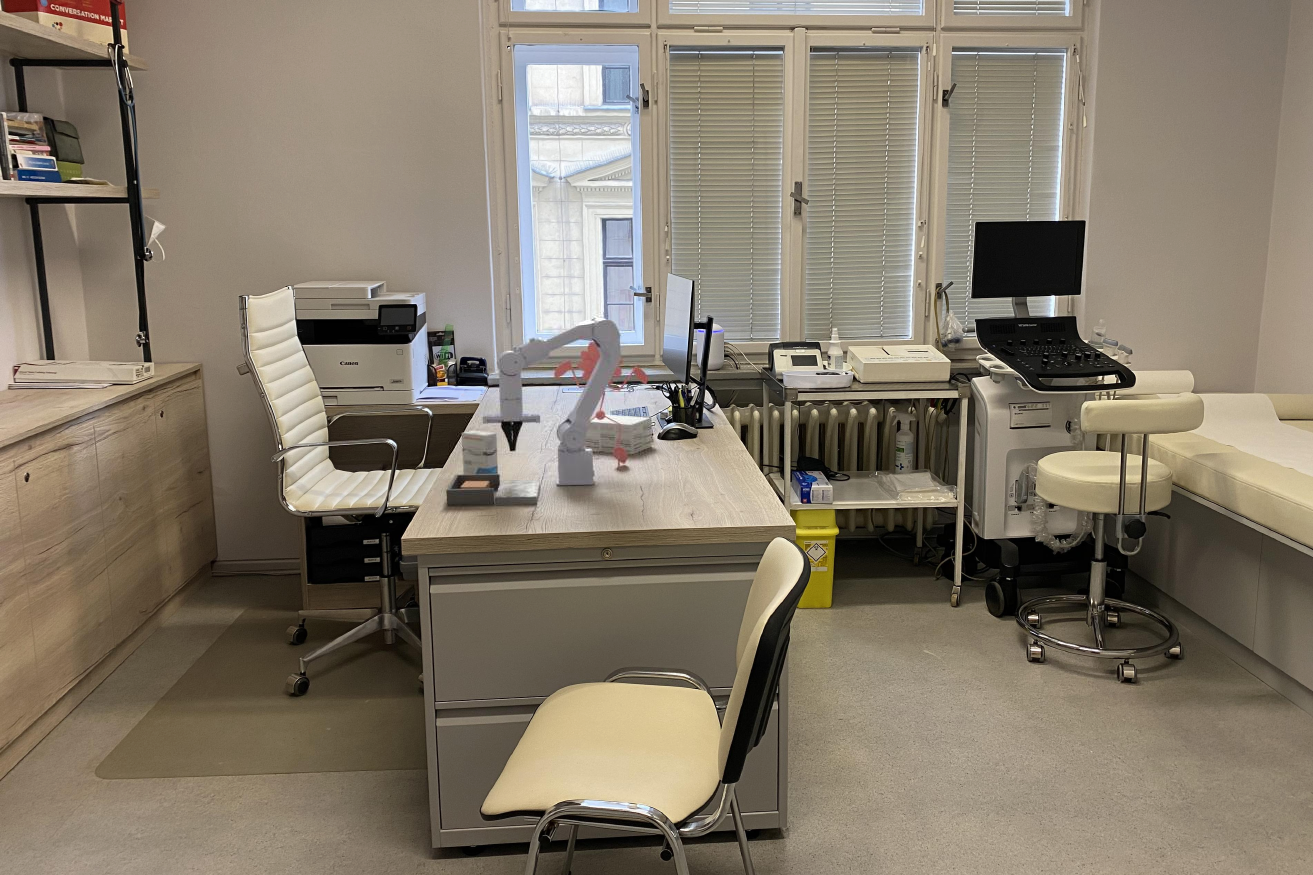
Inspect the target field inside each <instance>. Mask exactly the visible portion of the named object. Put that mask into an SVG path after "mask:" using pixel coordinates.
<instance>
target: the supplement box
mask: <svg viewBox="0 0 1313 875" xmlns="http://www.w3.org/2000/svg"><path fill="white" fill-rule="evenodd" d="M605 416H607V417H608V418H610V419H612V420H614V421H616V422H618V423H620V425H621V432H620V446H619V447H622V448H623V449H624V450H625V451H626V452H627V455H631V454H633V455H635V454H637V453H640V452H642V450H643V451H644V449H645V450H648V449H649V447H650V448H652V447H653V441H652V440H653V439H652V438H653V436H652V434H653V432H652V431H653V430H652V429H653V428H652V417H646V416H644V417H643V416H642V417H641V416H631V415H629V416H627V415H618V414H617V415H615V414H605ZM592 418H593V417H591V418H590V420H591V419H592ZM608 418H606V417H605V418H604V419H602V420H598V419H597V418H595V419H593V420H592V421H590V423H589V428H588V430H587V433H586V442H585V447H586V448H587V447H588V448H590V449H593V450H596V451H595V452H599V451H607V452H606V453H609V452H613V451H614V448H615V447H618V442H619V428H620V425H619V424H617V423H615V422H613V421H611V420H609V419H608ZM651 446H652V447H651ZM647 448H648V449H647ZM639 451H640V452H639Z"/></svg>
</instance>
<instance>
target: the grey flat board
mask: <svg viewBox="0 0 1313 875" xmlns="http://www.w3.org/2000/svg"><path fill="white" fill-rule="evenodd" d="M540 492H541V480H509V481H508V480H507V481H506V480H505V481H503V480H501V481H500V485H499V488H498V491H497V493H496V496H495V504H494V506H526V505H527V506H532V505H535V506H536V505H538V502H539V496H540Z"/></svg>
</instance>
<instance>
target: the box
mask: <svg viewBox="0 0 1313 875" xmlns="http://www.w3.org/2000/svg"><path fill="white" fill-rule="evenodd" d="M500 480H501V476H500V473H498V474H463V473H462V474H454V475H453V478H452V479H451V481H450V483H449V485H448V487H447V488H446V490H445V491H446V493H445V494H446V506H447V507H476V506H477V507H479V506H480V507H482V506H495V496H496V493H497V491H498V488H499V485H500V483H501V481H500ZM466 481H490V489H461V486H462V485H463V484H464V483H465V482H466Z"/></svg>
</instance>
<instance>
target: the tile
mask: <svg viewBox="0 0 1313 875" xmlns="http://www.w3.org/2000/svg"><path fill="white" fill-rule="evenodd" d="M461 489H490V481H466V482H465V483H464V484H463V485H462V486H461Z"/></svg>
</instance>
